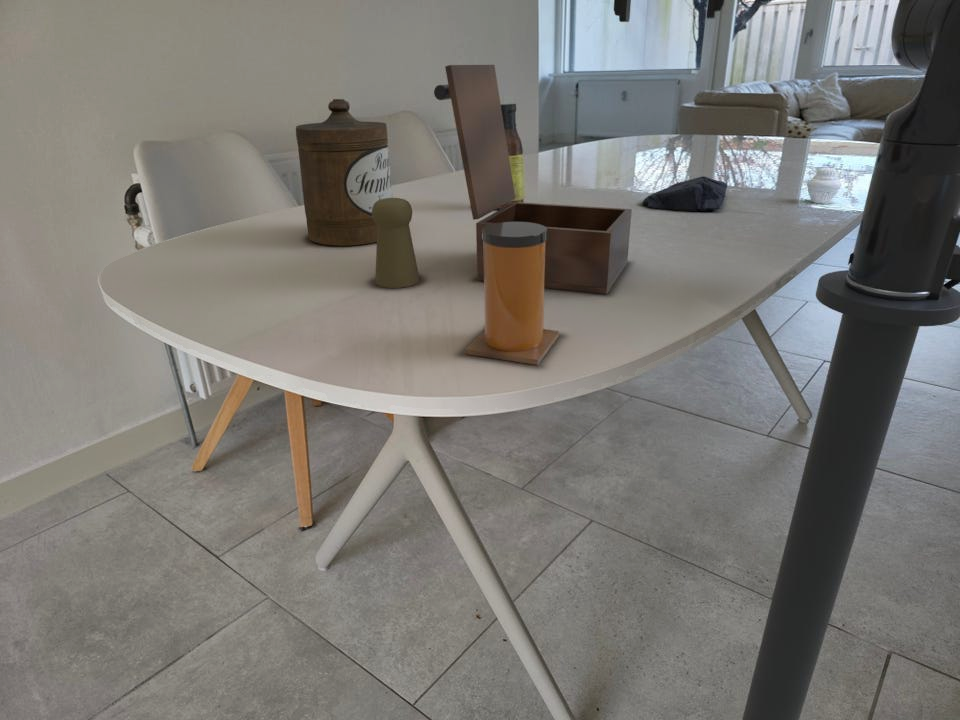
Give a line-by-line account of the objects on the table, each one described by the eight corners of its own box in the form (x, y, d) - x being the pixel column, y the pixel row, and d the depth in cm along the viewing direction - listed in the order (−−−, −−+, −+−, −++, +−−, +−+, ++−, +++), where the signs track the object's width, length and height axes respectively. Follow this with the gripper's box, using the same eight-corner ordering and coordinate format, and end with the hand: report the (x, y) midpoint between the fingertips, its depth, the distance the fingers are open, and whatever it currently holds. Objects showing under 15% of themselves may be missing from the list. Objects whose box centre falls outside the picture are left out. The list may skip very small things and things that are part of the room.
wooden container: (379, 247, 100) (366, 100, 91) (294, 245, 103) (272, 101, 93) (405, 226, 113) (396, 96, 104) (329, 224, 116) (314, 97, 106)
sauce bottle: (528, 206, 128) (530, 102, 119) (516, 212, 123) (516, 104, 114) (500, 204, 131) (499, 102, 122) (486, 209, 126) (485, 103, 117)
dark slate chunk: (737, 194, 135) (740, 172, 133) (717, 214, 118) (720, 188, 116) (666, 189, 142) (669, 168, 140) (638, 207, 125) (640, 183, 123)
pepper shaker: (416, 272, 88) (411, 193, 83) (422, 285, 82) (417, 201, 78) (373, 276, 86) (366, 196, 82) (376, 289, 81) (368, 204, 76)
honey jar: (551, 332, 65) (555, 223, 61) (533, 355, 60) (535, 239, 55) (496, 325, 68) (495, 219, 63) (474, 346, 62) (472, 233, 58)
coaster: (559, 336, 66) (559, 331, 66) (537, 365, 60) (537, 359, 59) (492, 327, 69) (492, 322, 68) (465, 354, 62) (465, 348, 62)
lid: (494, 64, 86) (462, 72, 88) (450, 64, 74) (414, 73, 76) (515, 198, 92) (485, 202, 94) (478, 219, 80) (444, 223, 82)
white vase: (819, 198, 130) (826, 163, 127) (844, 203, 125) (852, 167, 122) (796, 200, 128) (803, 165, 125) (820, 206, 123) (828, 169, 120)
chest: (627, 263, 90) (631, 208, 87) (606, 294, 78) (611, 232, 74) (512, 252, 96) (513, 201, 93) (477, 280, 84) (475, 223, 81)
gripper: (599, -186, 55) (588, 21, 62) (773, -214, 50) (740, 14, 57) (615, -160, 62) (604, 25, 68) (771, -183, 57) (742, 19, 64)
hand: (666, 19), depth 63 cm, fingers open, 8 cm apart
